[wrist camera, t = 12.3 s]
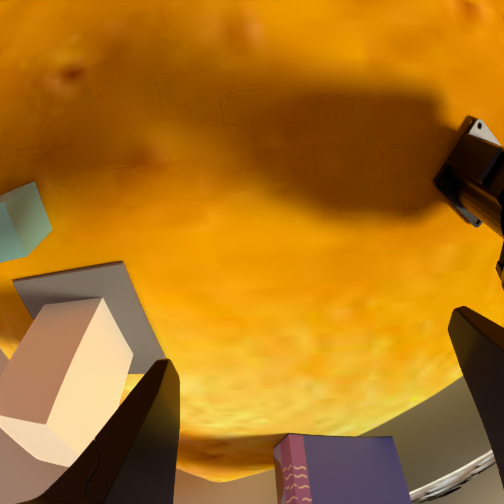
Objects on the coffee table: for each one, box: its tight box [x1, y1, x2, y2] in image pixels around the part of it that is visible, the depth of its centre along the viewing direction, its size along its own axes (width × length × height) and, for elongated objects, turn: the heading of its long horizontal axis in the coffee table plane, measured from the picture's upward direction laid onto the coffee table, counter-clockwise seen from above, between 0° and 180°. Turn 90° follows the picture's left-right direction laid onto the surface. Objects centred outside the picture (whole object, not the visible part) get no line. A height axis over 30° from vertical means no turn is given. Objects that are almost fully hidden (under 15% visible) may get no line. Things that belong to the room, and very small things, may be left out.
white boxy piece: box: [0, 297, 133, 467], centre depth 20 cm, size 7×7×12 cm
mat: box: [13, 262, 166, 374], centre depth 25 cm, size 12×12×1 cm
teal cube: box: [0, 181, 52, 263], centre depth 18 cm, size 4×4×4 cm
